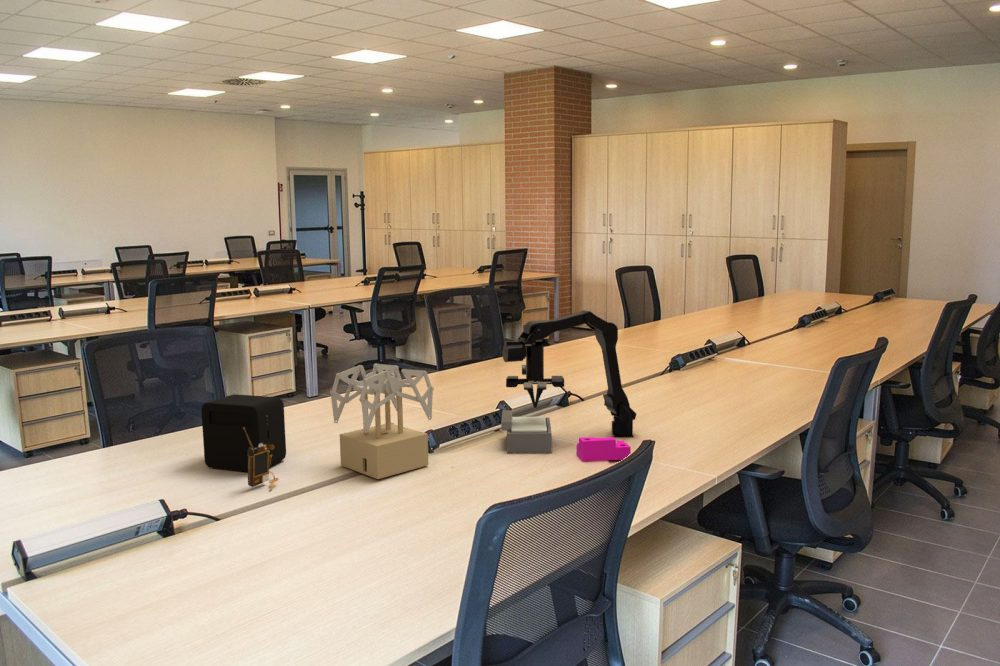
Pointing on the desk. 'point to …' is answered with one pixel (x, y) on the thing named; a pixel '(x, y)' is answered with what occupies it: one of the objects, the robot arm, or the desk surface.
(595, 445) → the magenta saddle bracket
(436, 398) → the desk surface
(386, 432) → the kinetic sculpture
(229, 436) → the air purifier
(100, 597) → the desk surface
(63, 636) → the desk surface
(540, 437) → the hatch box
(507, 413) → the trapdoor
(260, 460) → the walkie talkie
